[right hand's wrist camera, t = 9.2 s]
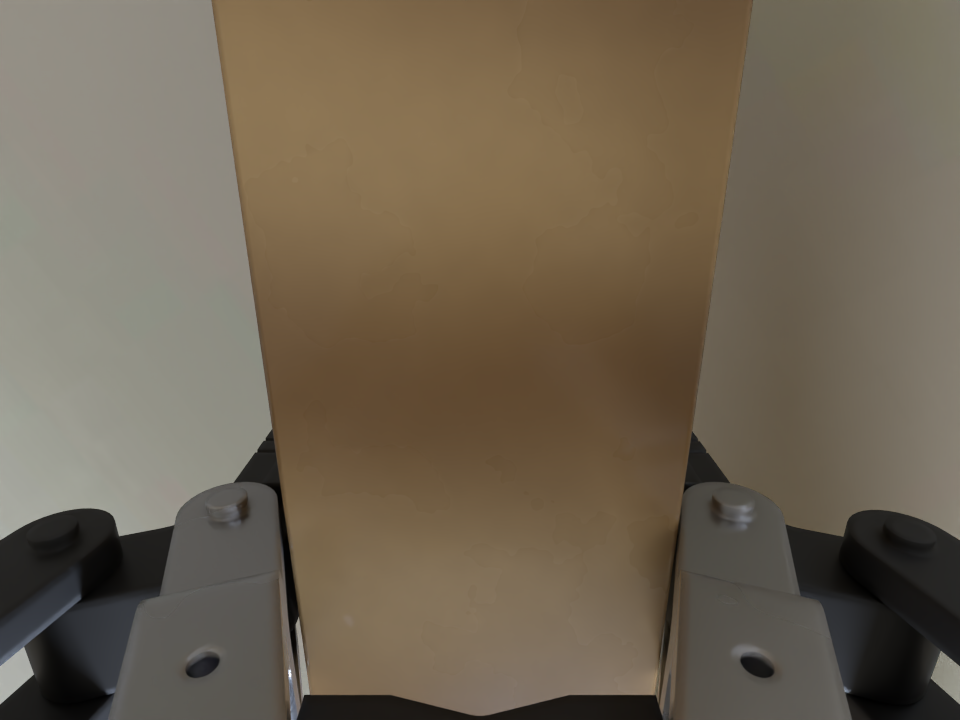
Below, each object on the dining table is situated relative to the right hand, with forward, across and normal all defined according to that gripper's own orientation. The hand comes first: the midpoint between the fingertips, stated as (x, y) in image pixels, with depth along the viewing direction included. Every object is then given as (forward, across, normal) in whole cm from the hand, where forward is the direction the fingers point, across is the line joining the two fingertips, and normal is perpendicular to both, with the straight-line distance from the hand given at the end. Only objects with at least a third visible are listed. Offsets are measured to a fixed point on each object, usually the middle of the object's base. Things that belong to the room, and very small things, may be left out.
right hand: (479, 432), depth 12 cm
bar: (+4, 0, -26) cm, 26 cm away
